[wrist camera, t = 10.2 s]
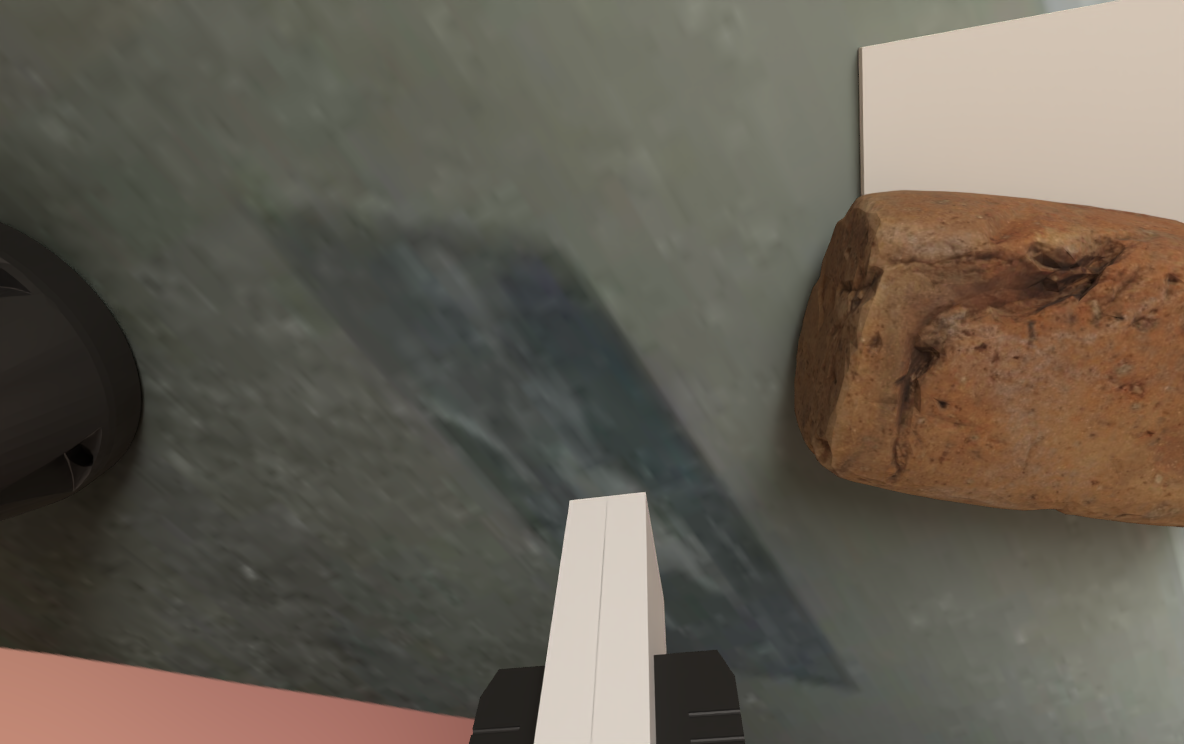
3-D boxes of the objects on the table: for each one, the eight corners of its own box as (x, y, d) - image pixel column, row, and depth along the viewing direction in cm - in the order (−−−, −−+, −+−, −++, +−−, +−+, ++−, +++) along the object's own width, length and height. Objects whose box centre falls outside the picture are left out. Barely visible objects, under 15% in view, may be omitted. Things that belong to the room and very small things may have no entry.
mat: (864, 419, 33) (871, 430, 32) (858, 47, 26) (866, 47, 25) (1246, 377, 30) (1266, 388, 29) (1342, -41, 24) (1371, -45, 23)
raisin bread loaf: (777, 409, 32) (1225, 468, 31) (807, 501, 25) (1382, 580, 24) (833, 169, 28) (1356, 228, 27) (887, 201, 21) (1593, 282, 20)
